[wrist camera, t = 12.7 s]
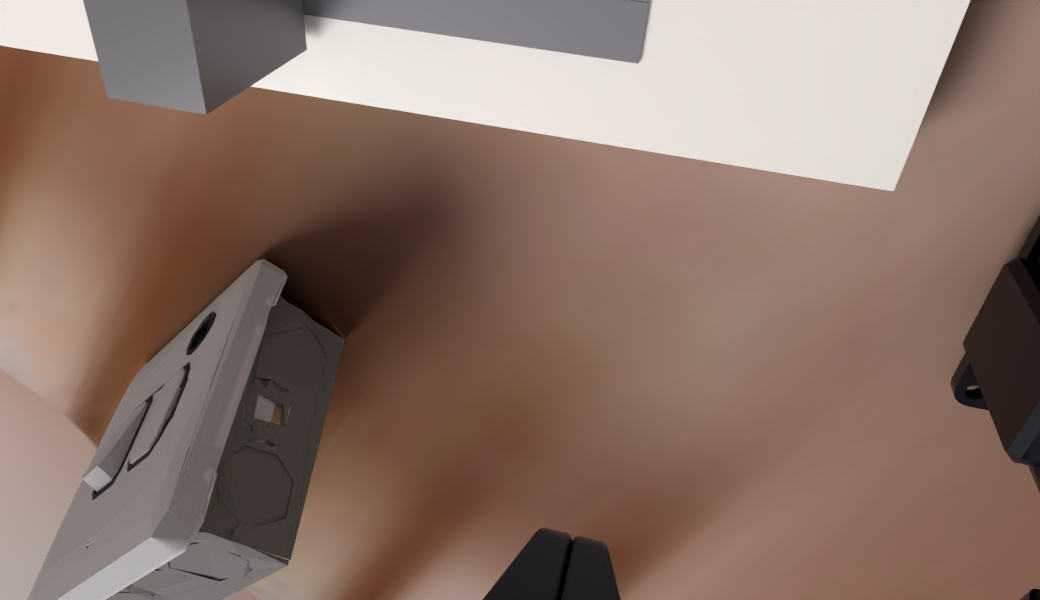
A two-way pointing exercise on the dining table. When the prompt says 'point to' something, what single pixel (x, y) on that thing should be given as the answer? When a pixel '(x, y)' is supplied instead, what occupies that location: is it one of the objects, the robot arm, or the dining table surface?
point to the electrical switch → (203, 457)
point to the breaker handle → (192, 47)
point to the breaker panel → (620, 71)
